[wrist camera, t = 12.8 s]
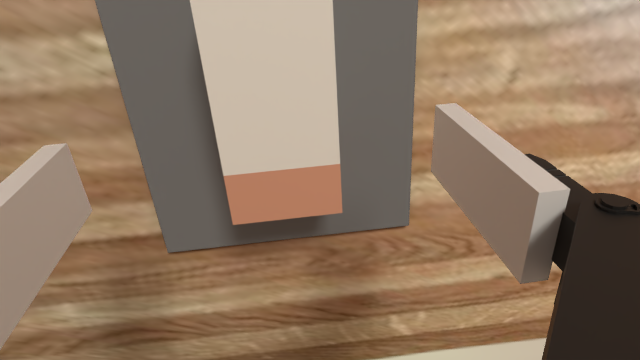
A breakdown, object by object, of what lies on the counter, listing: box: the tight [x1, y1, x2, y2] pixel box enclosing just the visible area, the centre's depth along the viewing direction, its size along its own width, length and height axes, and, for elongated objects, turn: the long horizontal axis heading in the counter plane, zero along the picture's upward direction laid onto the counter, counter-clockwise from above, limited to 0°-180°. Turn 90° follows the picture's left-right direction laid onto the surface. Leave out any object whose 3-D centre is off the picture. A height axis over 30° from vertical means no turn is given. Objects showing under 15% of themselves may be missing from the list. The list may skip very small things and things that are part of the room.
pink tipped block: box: [190, 0, 342, 225], centre depth 23 cm, size 12×6×5 cm, turn 4°
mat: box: [95, 0, 418, 253], centre depth 25 cm, size 17×22×1 cm
